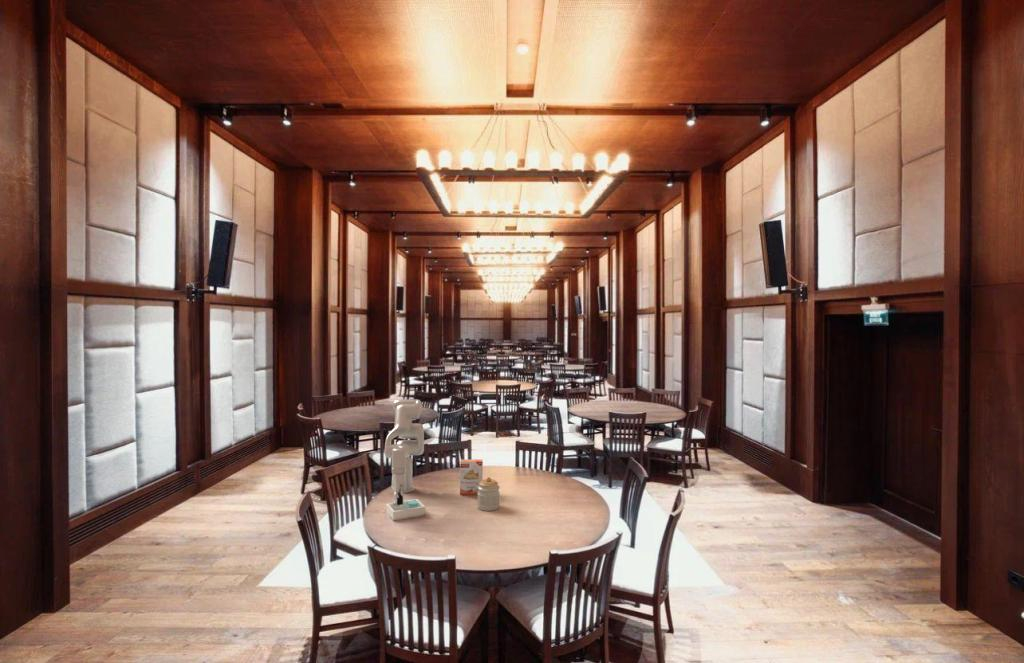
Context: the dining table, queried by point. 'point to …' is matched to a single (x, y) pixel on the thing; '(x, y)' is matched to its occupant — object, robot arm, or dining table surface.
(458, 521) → the dining table surface
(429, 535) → the dining table surface
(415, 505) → the teal cube
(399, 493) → the steel cylinder
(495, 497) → the jar
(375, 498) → the dining table surface
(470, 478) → the cracker box
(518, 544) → the dining table surface
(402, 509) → the tote
